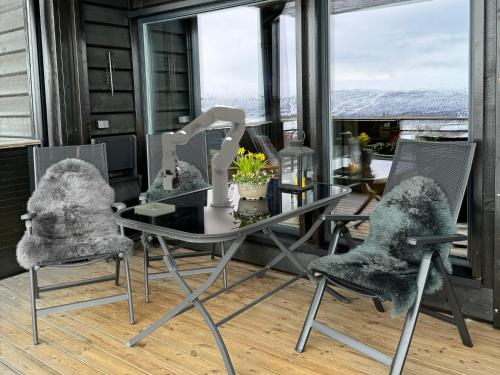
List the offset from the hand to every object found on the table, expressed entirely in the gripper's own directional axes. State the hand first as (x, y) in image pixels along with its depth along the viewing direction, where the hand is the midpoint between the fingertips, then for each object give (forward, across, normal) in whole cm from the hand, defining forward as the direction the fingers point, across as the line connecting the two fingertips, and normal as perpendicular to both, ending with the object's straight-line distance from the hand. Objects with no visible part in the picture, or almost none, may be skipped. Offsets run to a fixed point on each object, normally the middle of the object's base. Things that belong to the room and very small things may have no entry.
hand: (171, 183), depth 305 cm
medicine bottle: (+4, 0, 0) cm, 4 cm away
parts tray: (+14, -1, +16) cm, 21 cm away
